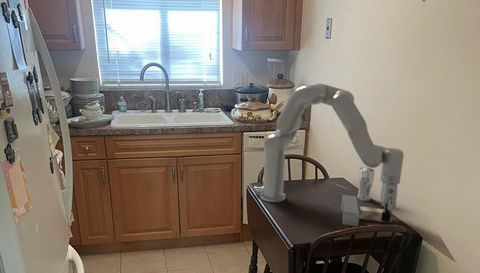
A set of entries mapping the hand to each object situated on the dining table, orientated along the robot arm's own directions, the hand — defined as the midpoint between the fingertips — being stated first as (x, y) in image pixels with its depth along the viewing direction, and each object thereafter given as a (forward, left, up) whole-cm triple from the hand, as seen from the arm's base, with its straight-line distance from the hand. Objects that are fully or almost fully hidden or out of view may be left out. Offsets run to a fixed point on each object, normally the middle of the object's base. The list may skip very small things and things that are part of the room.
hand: (384, 218), depth 159 cm
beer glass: (-7, +22, -1) cm, 23 cm away
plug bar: (-4, 0, -1) cm, 4 cm away
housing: (-15, 0, -1) cm, 15 cm away
